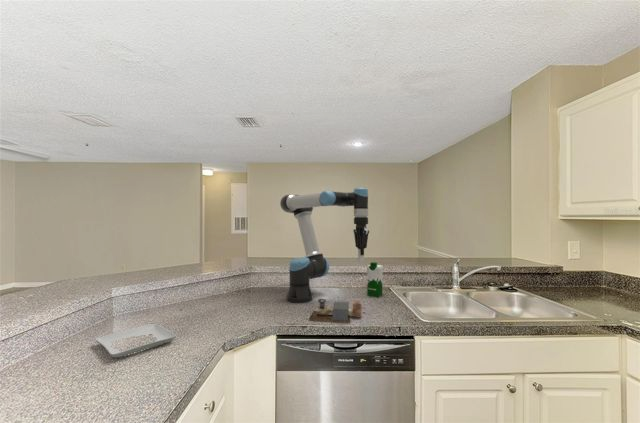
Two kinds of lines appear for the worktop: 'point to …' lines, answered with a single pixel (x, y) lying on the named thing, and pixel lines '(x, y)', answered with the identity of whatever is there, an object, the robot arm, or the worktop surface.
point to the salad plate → (155, 329)
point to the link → (352, 312)
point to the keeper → (338, 313)
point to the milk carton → (374, 279)
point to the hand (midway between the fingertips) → (361, 261)
